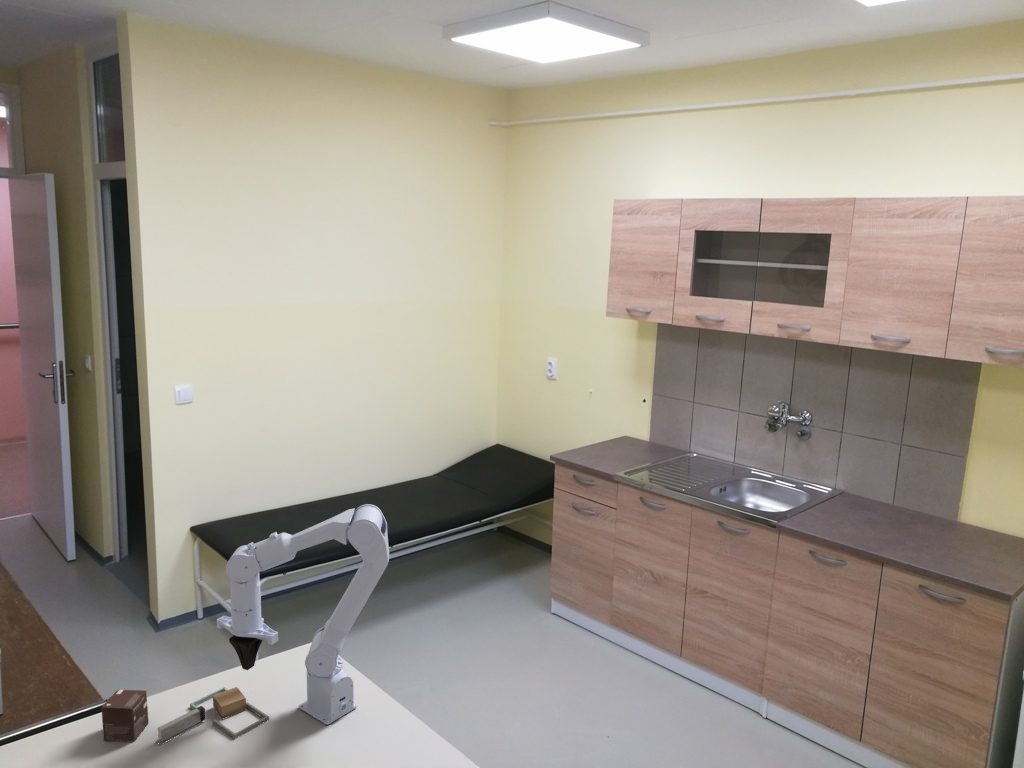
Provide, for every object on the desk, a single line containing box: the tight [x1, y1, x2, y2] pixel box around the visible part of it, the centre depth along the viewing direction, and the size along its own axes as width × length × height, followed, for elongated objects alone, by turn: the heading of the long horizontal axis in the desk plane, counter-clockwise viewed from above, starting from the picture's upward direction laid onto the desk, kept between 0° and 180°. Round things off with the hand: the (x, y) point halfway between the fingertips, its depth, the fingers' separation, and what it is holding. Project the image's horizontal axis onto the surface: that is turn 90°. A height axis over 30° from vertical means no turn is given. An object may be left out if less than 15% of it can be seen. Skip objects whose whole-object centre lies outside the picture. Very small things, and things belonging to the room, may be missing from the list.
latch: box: [157, 705, 206, 741], centre depth 148 cm, size 1×9×2 cm, turn 143°
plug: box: [212, 686, 247, 720], centre depth 156 cm, size 5×5×3 cm
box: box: [101, 689, 149, 743], centre depth 147 cm, size 6×6×7 cm
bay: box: [189, 687, 229, 710], centre depth 158 cm, size 4×8×1 cm, turn 143°
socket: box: [155, 701, 270, 746], centre depth 149 cm, size 11×18×1 cm, turn 143°
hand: (248, 667), depth 155 cm, fingers closed
